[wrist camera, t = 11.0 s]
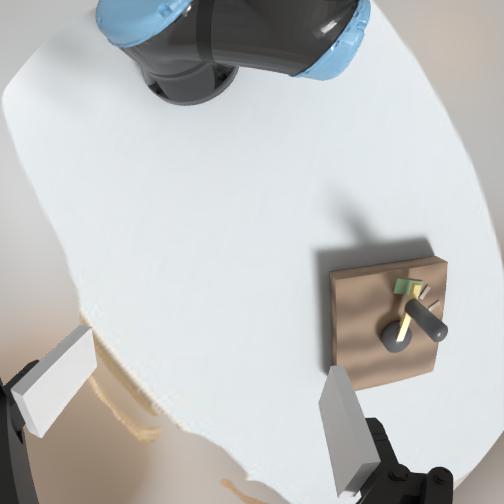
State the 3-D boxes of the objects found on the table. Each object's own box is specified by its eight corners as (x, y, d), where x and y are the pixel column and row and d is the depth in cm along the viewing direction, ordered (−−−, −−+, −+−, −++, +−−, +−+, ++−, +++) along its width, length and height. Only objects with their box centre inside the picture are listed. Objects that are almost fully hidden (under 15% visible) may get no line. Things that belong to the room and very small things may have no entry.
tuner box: (329, 271, 46) (335, 280, 42) (435, 256, 44) (448, 262, 40) (332, 381, 51) (336, 395, 46) (424, 360, 49) (433, 371, 45)
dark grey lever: (376, 346, 44) (402, 387, 33) (398, 278, 41) (434, 307, 30) (401, 347, 44) (429, 385, 33) (423, 281, 41) (462, 309, 30)
